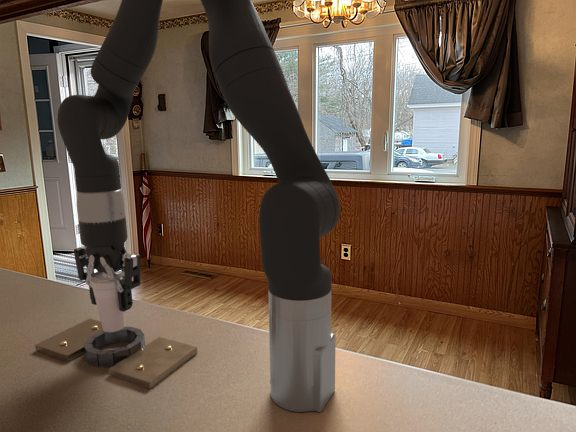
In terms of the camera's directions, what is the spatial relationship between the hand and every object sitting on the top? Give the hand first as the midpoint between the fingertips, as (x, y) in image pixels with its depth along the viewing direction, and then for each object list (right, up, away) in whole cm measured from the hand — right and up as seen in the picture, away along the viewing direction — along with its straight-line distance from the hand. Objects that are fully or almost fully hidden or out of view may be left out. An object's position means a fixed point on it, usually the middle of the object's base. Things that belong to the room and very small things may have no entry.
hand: (111, 306), depth 77 cm
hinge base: (0, -9, +2) cm, 9 cm away
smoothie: (0, -4, +1) cm, 4 cm away
